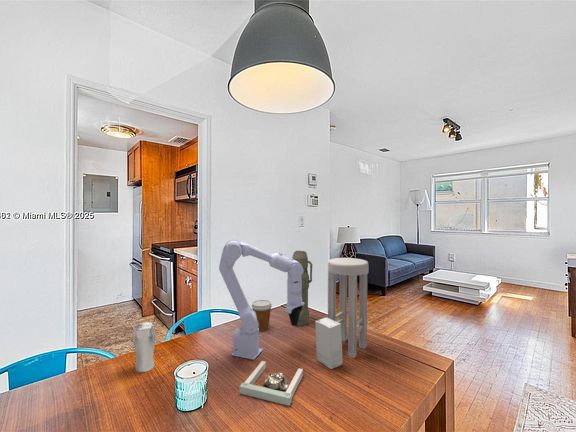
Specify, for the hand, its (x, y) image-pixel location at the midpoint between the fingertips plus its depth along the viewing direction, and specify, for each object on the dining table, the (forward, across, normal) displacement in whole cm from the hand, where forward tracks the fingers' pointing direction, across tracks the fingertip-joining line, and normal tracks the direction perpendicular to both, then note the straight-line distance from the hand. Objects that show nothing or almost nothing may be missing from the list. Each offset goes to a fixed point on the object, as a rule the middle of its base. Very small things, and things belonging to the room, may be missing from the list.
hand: (294, 324), depth 111 cm
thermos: (+10, +25, +6) cm, 27 cm away
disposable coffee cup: (+10, +12, +20) cm, 26 cm away
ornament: (+10, -24, -2) cm, 26 cm away
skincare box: (+10, -5, -15) cm, 19 cm away
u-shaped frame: (+9, -23, -1) cm, 25 cm away
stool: (+10, +8, -20) cm, 23 cm away
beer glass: (+10, -31, +45) cm, 55 cm away
